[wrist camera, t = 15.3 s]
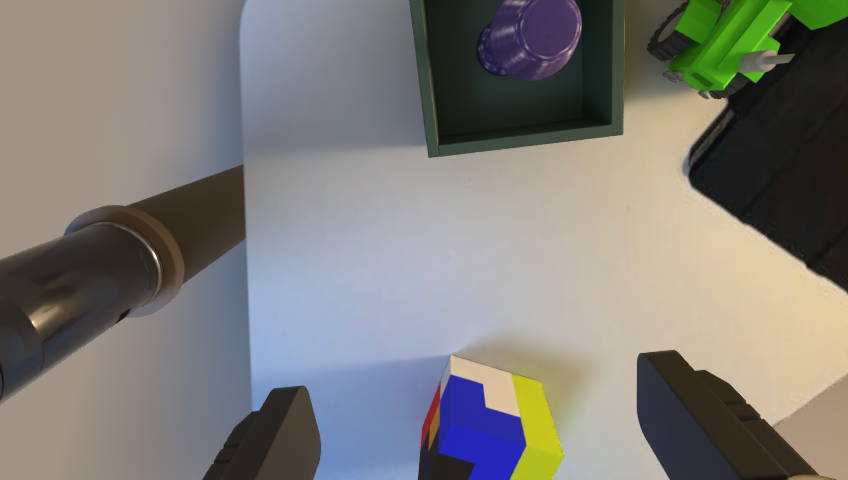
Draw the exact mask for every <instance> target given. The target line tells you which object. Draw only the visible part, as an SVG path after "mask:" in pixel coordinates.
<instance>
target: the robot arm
mask: <svg viewBox="0 0 848 480" xmlns="http://www.w3.org/2000/svg"><path fill="white" fill-rule="evenodd" d="M163 280H164V269H163V264H162V261H161V258H160V256H159V254H158V252H157V250H156V249H155V247H154V246H153V244H152V243H151V242H150V241H149V240H148V239H147V238H146V237H145V236H144V235H143V234H141V233H140V232H139V231H137V230H135V229H134V228H132V227H130V226H127V225H125V224H122V223H118V222H112V221H102V222H97V223H94V224H91V225H88V226H86V227H84V228H82V229H81V230H78V231H76V232H73V233H70V234H67V235H65V236H62V237H59V238H56V239H54V240H51V241H48V242H46V243H43V244H40V245H38V246H35V247H32V248H30V249H27V250H24V251H22V252H19V253H16V254H14V255H11V256H8V257H6V258H3V259H1V260H0V405H1V404H2V403H4V402H5V401H7V400H8V399H10V398H11V397H12V396H14V395H15V394H17V393H18V392H19V391H21V390H22V389H24V388H25V387H27V386H28V385H29V384H31V383H32V382H33V381H35V380H36V379H38V378H39V377H41V376H42V375H44V374H45V373H46V372H48V371H49V370H51V369H52V368H54V367H55V366H56V365H58V364H59V363H61V362H62V361H64V360H65V359H66V358H68V357H69V356H71V355H72V354H73V353H75V352H76V351H78V350H79V349H81V348H82V347H83V346H85V345H86V344H88V343H89V342H91V341H92V340H94V339H95V338H96V337H98V336H99V335H101V334H102V333H104V332H105V331H106V330H108V329H109V328H111V327H112V326H114V325H115V324H117V323H118V322H119V321H121V320H122V319H124V318H125V317H127V316H128V315H130V314H131V313H132V312H134V311H135V310H137V309H138V308H140V307H142V306H144V305H146V304H147V303H149V302H150V301H151V300H153V299H154V298H155V297H156V296H157V294H158V293H159V292H160V290H161V287H162V285H163ZM637 414H638V419H639V423H640V427H641V429H642V432H643V434H644V436H645V438H646V440H647V442H648V443H649V445H650V447H651V448H652V450H653V452H654V453H655V455H656V457H657V459H658V460H659V462H660V464H661V465H662V467H663V469H664V470H665V472H666V474H667V476H668V477H669V479H670V480H835V479H832V478H828V477H823V476H820V475H819V474H818V473H817V472H816V471H815V470H814V469H813V468H812V467H811V466H810V465H808V463H807V462H806V461H805V460H804V459H803V458H802V457H801V456H800V455H799V454H798V453H797V452H796V451H795V450H794V449H793V448H792V447H791V446H790V445H789V444H788V443H787V442H786V441H785V440H784V439H783V438H782V437H781V436H780V435H779V434H778V433H777V432H776V431H775V430H774V429H773V428H772V427H771V426H770V425H769V424H768V423H767V422H766V421H765V420H764V419H761V417H760V415H759V414H758V412H757V411H756V410H755V409H754V408H753V407H752V406H751V405H750V404H747V403H746V400H745V399H744V398H743V397H742V396H741V395H740V394H739V393H738V392H737V391H736V390H735V389H734V388H733V387H732V386H731V385H730V384H729V383H727V382H725V381H724V380H722V379H720V378H718V377H717V376H715V375H713V374H711V373H710V372H708V371H706V370H699V371H695V370H694V369H693V368H692V367H691V366H690V365H689V364H688V363H687V362H686V361H685V359H684V358H683V357H682V356H681V355H680V354H679V353H678V352H677V351H675V350H668V351H658V352H648V353H640V354H639V355H638V359H637ZM320 453H321V441H320V434H319V430H318V427H317V423H316V419H315V415H314V412H313V408H312V404H311V400H310V396H309V393H308V390H307V388H306V387H305V386H294V387H284V388H274V389H273V390H271V392H270V393H269V395H268V397H267V399H266V400H265V402H264V404H263V406H262V407H261V409H260V411H255V412H251V413H250V414H249V415H248V416H247V417H246V418H245V419H244V420H242V421H241V423H239V424H238V425H237V426H236V427H235V428H234V429H233V431H232V433H231V434H230V436H229V437H228V439H227V441H226V442H225V444H224V448H223V449H221V450H220V452H219V454H218V455H217V457H216V459H215V460H214V464H212V465H211V467H210V468H209V470H208V471H207V473H206V475H205V476H204V478H203V479H202V480H313V479H314V476H315V473H316V470H317V467H318V464H319V460H320Z"/></svg>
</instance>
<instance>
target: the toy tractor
mask: <svg viewBox="0 0 848 480" xmlns="http://www.w3.org/2000/svg"><path fill="white" fill-rule="evenodd" d="M721 8H722V5H721V4H719V3H718V2H716V1H714V0H688V2H687V3H684V4H682V5H681V7H680V8H677V9H676V10H675V11H674V13H673V14H672V15H670V16H669V17H668V18H667V19H668V20H667V21H666V22H665V23H664V22H663V23H662V25H661V28H660V29H659V30H657V31H656V32H655V36H654V37H652V38H651V40H650V41H651V43H649V44H648V48H647V50H648V52H650V53H651V54H652V55H654V56H655V57H656V58H658V59H659V60H661V61H662V62H663V61H664V62H665V61H667V60H670V59H672V58H673V57H674V56H675V55H678V54H679V55H678V56H677V57H676V59H675V60H674V61H673V63H672V64H671V65H670V67H669V68H668V70H669V71H666V72H664V73H663V76H664V77H665V78H667V79H668V80H670V81H672V82H677V80H680V81H683V80H684V81H685V82H686V83H688V84H689V85H691V86H692V87H694V88H695V89H696V90H701V91H699V92H698V94H699V95H700V96H702V97H703V98H705V99H709V98H710V96H711V97H713V98H714V99H716V98H717V99H721V98H726V97H728V95H730V94H734V93H735V92H736V91H737V90H738V89H741V88H742V87H744V86H745V84H746V83H747V82H748V81H749V82H750V81H751V80H752V81H754V83H756V82H757V81H758V80H759V79H760V78H761V76H762V75H763V74H764V73H765V72H766V71H769V70H771V69H772V68H774V67H775V65H776V64H779V63H788V62H790V60H791V59H792V58H793V57H794V55H795V54H788V55H777V52H778V49H779V46H780V43H779V42H777V41H776V40H774V39H773V38H772V37H770V36H769V35H768V33H769V32H770V31H771V30H772V28H773V27H774V26H775V25H776V23H777V22H778V21H779V20H780V18H781V17H782V16H783V15H784V13H785V12H786V11H788V12H789V13H791V14H792V15H793V16H794V17H796V18H797V19H798V20H799V21H801V22H802V23H803V24H805V25H806V26H807V27H808V28H810V29H811V30H813V29H817V28H821V27H825V26H828V25H830V24H832V23H834V22H837V21H839V20H841V19H843V18H845V17H847V16H848V0H732V1H731V2H730V3H729V5H728V6H727V7H726V9H725V10H724V11H723V13H722V14H721V15H720V12H721ZM719 15H720V17H719ZM718 17H719V18H718Z"/></svg>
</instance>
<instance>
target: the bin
mask: <svg viewBox="0 0 848 480" xmlns="http://www.w3.org/2000/svg"><path fill="white" fill-rule="evenodd" d="M409 1H410V10H411V18H412V26H413V34H414V42H415V51H416V59H417V67H418V75H419V84H420V92H421V100H422V108H423V116H424V125H425V133H426V141H427V149H428V157H429V158H432V157H439V156H440V157H441V156H449V155H458V154H466V153H474V152H483V151H491V150H500V149H508V148H516V147H525V146H533V145H542V144H550V143H558V142H567V141H575V140H584V139H592V138H600V137H609V136H617V135H623V118H624V49H625V0H573V1H574V2H575V3H576V5H577V6H578V9H579V11H580V15H581V21H582V27H581V34H580V38H579V40H578V43H577V46H576V48H575V50H574V52H573V54H572V56H571V57H570V59H569V60H568V62H567V63H566V64H565V65H564V66H563V67H562V68H561V69H560V70H559V71H557V72H556V73H554V74H552V75H550V76H548V77H546V78H544V79H540V80H533V81H527V80H521V79H517V78H514V77H512V76H511V75H507V76H495V75H492V74H490V73H489V72H487V71H486V70H485V69H484V68H483V67H482V66H481V64H480V63H479V60H478V57H477V51H476V50H477V42H478V39H479V36H480V34H481V32H482V31H483V30H484V28H485V27H486V26H487V25H489V24H490V23H492V21H493V18H494V15H495V13H496V11H497V10H498V8H499V6H500V5H501V4H502V3H503V1H504V0H409Z"/></svg>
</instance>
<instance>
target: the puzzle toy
mask: <svg viewBox="0 0 848 480" xmlns="http://www.w3.org/2000/svg"><path fill="white" fill-rule="evenodd" d="M563 457H564V454H563V451H562V448H561V445H560V442H559V438H558V435H557V432H556V429H555V426H554V422H553V419H552V416H551V413H550V409H549V406H548V403H547V400H546V397H545V393H544V390H543V387H542V384H541V382H539V381H536V380H532V379H529V378H526V377H522V376H519V375H516V374H512V373H509V372H506V371H502V370H499V369H496V368H492V367H489V366H486V365H483V364H479V363H476V362H473V361H469V360H466V359H463V358H459V357H456V356H453V355H450V358H449V360H448V363H447V365H446V368H445V371H444V373H443V376H442V378H441V381H440V384H439V386H438V389H437V391H436V394H435V397H434V399H433V402H432V404H431V407H430V409H429V412H428V415H427V417H426V420H425V422H424V425H423V428H422V438H421V450H420V462H419V474H418V480H552V478H553V476H554V474H555V472H556V471H557V469H558V467H559V465H560V463H561V461H562V459H563Z"/></svg>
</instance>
